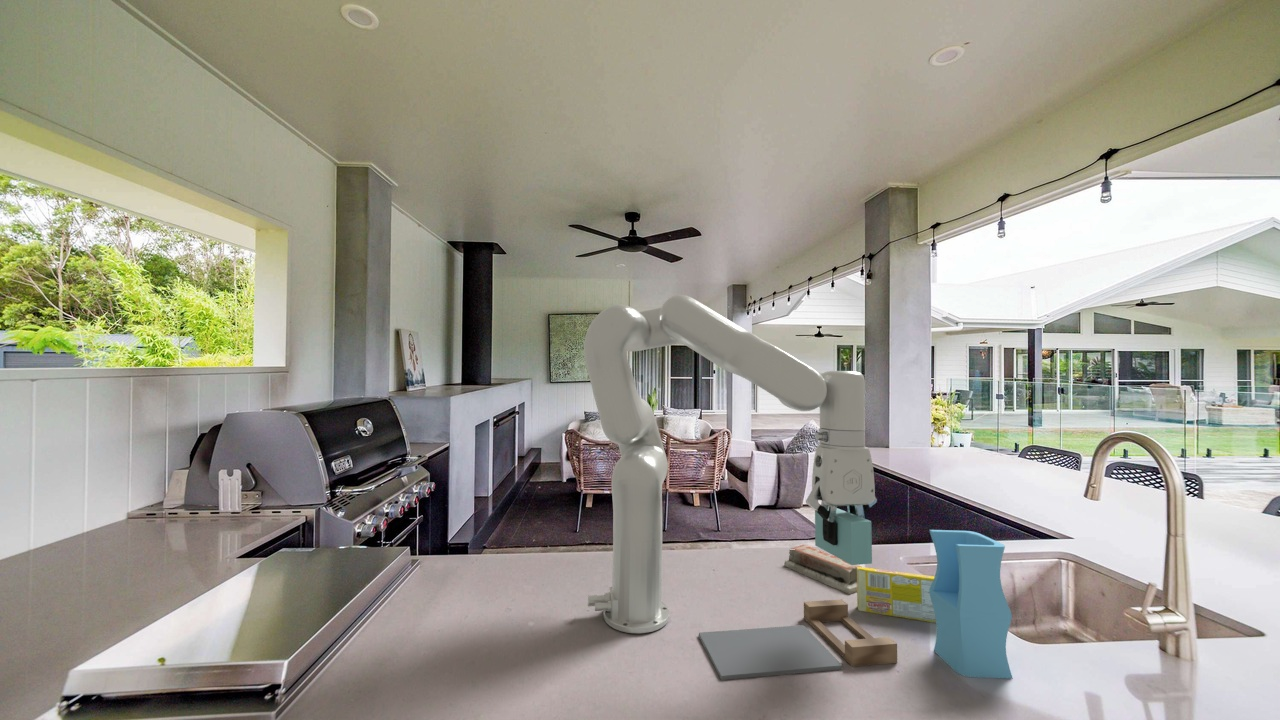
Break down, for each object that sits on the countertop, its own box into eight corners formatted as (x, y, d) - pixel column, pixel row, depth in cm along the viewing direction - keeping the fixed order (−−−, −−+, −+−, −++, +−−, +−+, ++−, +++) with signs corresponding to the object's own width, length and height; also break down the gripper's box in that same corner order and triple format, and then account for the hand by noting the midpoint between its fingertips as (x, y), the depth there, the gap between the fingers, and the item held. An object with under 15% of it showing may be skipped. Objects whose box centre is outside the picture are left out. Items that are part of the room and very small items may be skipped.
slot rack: (852, 666, 73) (852, 647, 73) (803, 617, 88) (803, 601, 88) (897, 662, 74) (897, 643, 74) (841, 615, 89) (841, 599, 89)
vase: (930, 647, 79) (928, 529, 79) (976, 648, 78) (974, 530, 79) (961, 676, 71) (958, 545, 72) (1012, 678, 70) (1010, 547, 71)
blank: (851, 565, 76) (851, 522, 76) (815, 545, 86) (814, 507, 86) (872, 563, 77) (871, 521, 77) (833, 544, 87) (833, 506, 87)
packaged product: (782, 547, 113) (808, 540, 119) (782, 567, 113) (808, 559, 118) (849, 573, 98) (875, 564, 103) (850, 596, 98) (875, 586, 103)
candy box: (949, 621, 88) (948, 577, 88) (952, 626, 86) (952, 581, 86) (856, 606, 93) (856, 565, 93) (858, 611, 91) (857, 569, 91)
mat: (721, 680, 69) (721, 675, 69) (698, 636, 81) (698, 632, 81) (842, 669, 72) (842, 665, 72) (803, 628, 84) (803, 625, 84)
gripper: (813, 442, 77) (813, 552, 76) (896, 441, 81) (897, 546, 80) (789, 436, 84) (788, 537, 83) (866, 436, 88) (866, 532, 87)
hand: (841, 540), depth 82 cm, fingers closed on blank, 4 cm apart
